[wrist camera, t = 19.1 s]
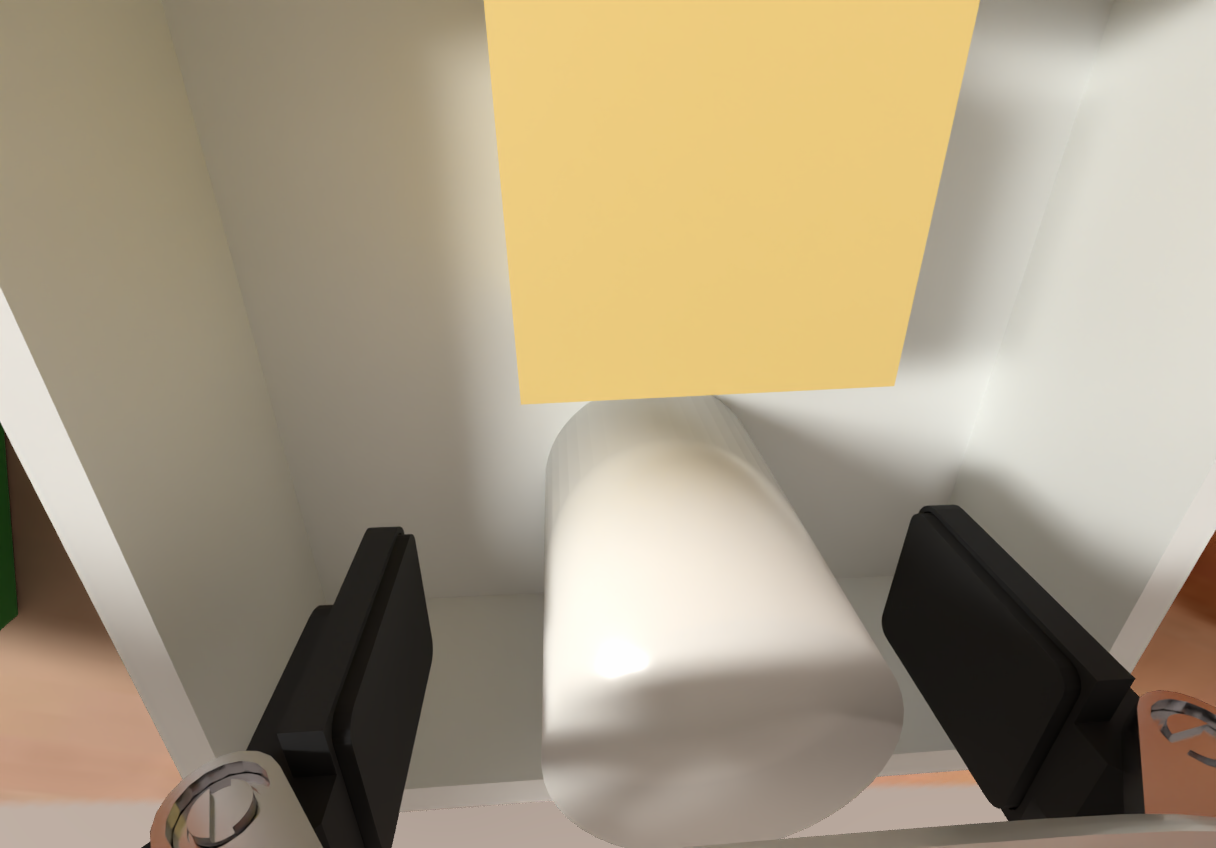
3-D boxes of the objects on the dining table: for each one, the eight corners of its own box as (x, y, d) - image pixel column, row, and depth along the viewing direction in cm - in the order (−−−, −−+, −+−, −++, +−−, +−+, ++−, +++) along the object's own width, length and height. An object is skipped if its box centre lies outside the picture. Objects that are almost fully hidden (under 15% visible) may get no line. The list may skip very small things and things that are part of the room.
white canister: (766, 378, 14) (946, 607, 7) (740, 554, 16) (862, 841, 10) (541, 383, 13) (533, 630, 7) (548, 563, 15) (547, 867, 9)
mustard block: (807, -5, 10) (1000, -88, 6) (774, 287, 13) (894, 386, 8) (509, -4, 10) (475, -90, 6) (532, 297, 12) (521, 404, 8)
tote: (1161, -108, 10) (1702, -297, 6) (931, 577, 18) (1078, 761, 13) (91, -154, 9) (-447, -455, 4) (311, 607, 16) (206, 826, 11)
